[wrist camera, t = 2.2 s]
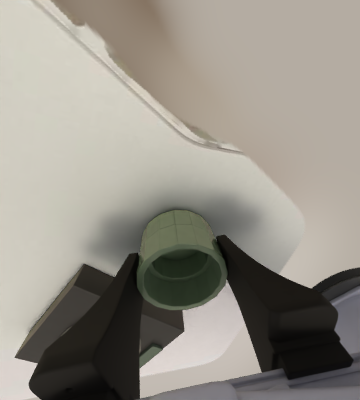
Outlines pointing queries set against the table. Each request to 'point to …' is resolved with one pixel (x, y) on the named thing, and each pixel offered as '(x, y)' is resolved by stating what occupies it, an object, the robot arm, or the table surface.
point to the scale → (81, 302)
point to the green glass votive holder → (180, 262)
